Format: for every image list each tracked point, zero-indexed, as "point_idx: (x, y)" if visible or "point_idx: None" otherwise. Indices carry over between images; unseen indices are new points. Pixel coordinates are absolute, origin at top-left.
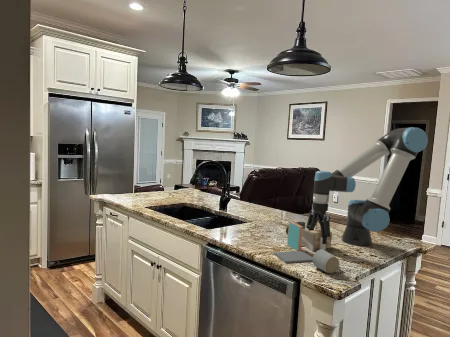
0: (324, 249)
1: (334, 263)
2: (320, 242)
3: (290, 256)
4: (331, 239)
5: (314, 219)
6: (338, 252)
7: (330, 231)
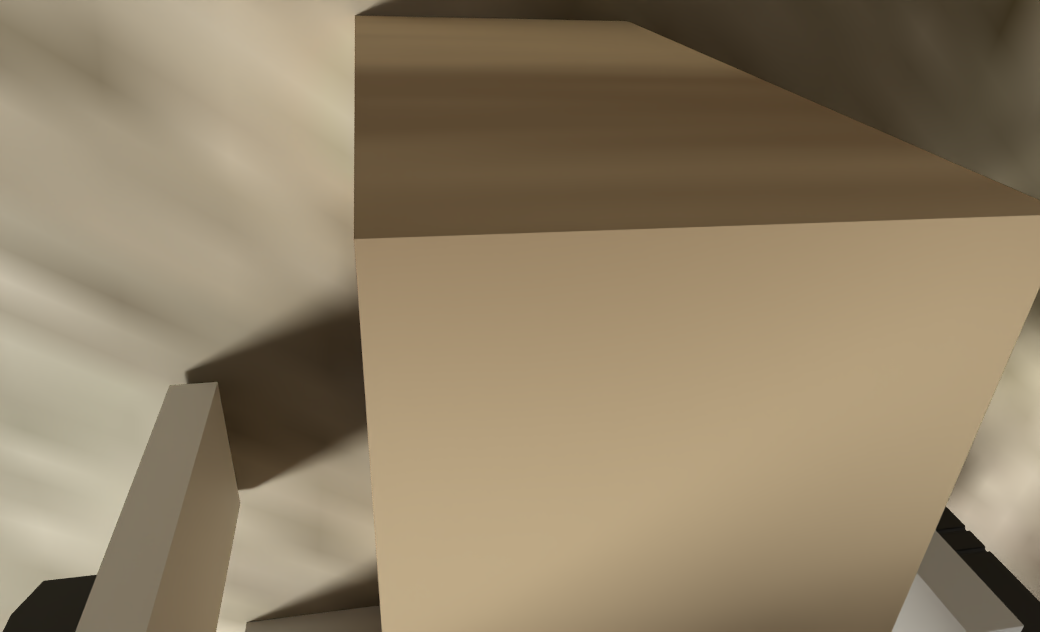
0: None
1: None
2: None
3: None
4: (761, 82)
5: None
6: (999, 73)
7: (869, 233)
